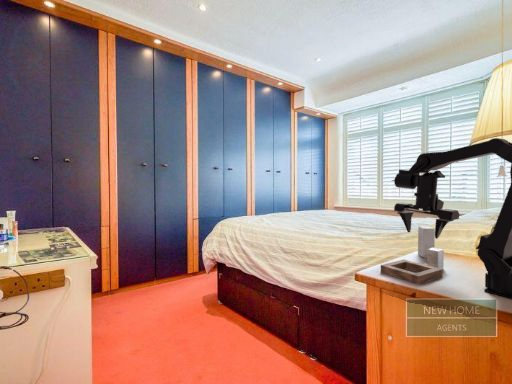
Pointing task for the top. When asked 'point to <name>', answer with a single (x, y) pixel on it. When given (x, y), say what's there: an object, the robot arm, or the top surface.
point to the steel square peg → (435, 258)
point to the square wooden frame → (423, 276)
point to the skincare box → (425, 240)
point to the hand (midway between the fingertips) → (422, 235)
